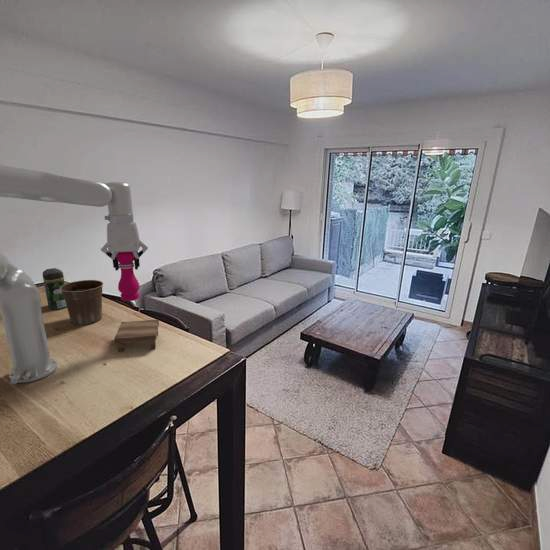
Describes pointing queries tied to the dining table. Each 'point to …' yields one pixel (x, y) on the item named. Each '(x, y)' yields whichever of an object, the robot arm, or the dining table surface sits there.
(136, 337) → the wooden stool
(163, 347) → the dining table surface
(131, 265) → the pepper mill
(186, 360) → the dining table surface
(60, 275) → the coffee jar
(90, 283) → the plant pot
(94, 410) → the dining table surface
